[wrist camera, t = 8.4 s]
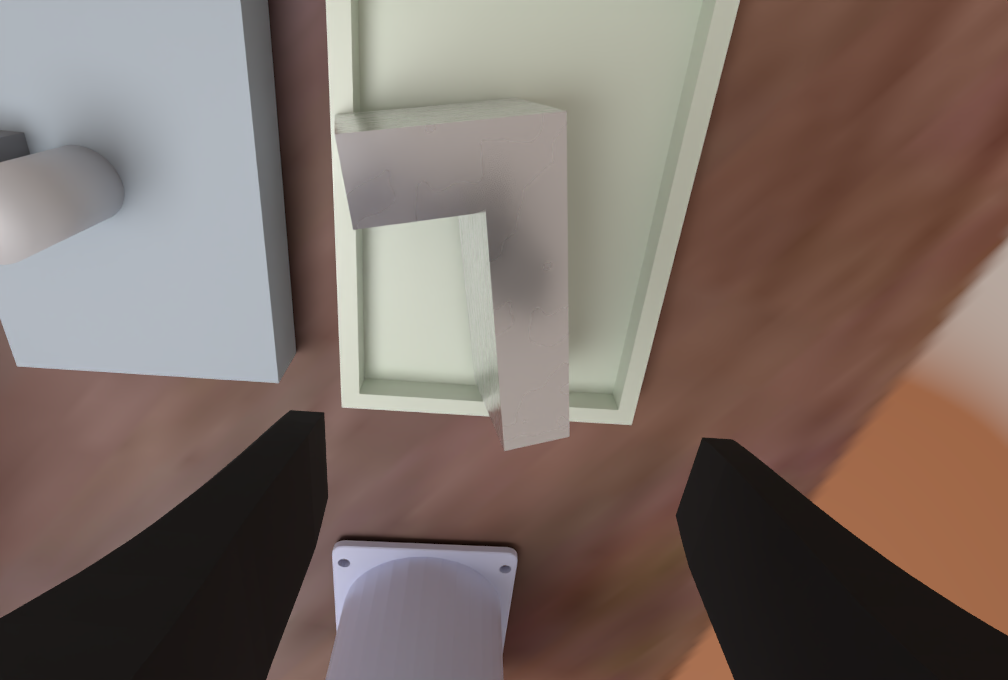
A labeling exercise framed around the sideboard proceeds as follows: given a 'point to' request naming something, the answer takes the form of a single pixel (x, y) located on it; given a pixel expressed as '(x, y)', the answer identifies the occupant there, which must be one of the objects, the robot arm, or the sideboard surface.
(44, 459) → the sideboard surface
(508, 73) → the tray
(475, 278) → the hook
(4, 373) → the sideboard surface
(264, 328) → the vise block
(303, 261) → the sideboard surface
